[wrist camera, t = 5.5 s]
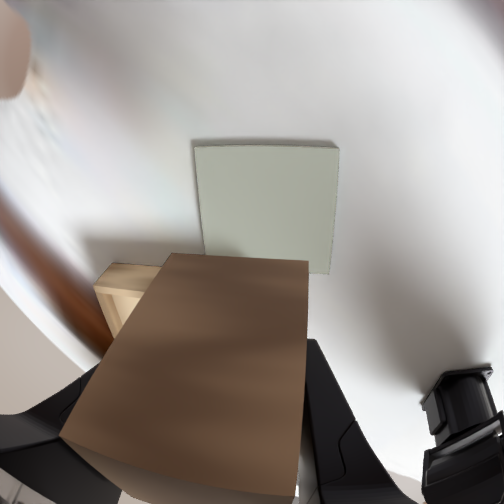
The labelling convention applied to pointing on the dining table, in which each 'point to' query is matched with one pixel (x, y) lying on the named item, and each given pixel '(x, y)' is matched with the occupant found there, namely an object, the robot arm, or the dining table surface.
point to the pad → (268, 201)
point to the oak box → (122, 291)
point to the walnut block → (203, 385)
